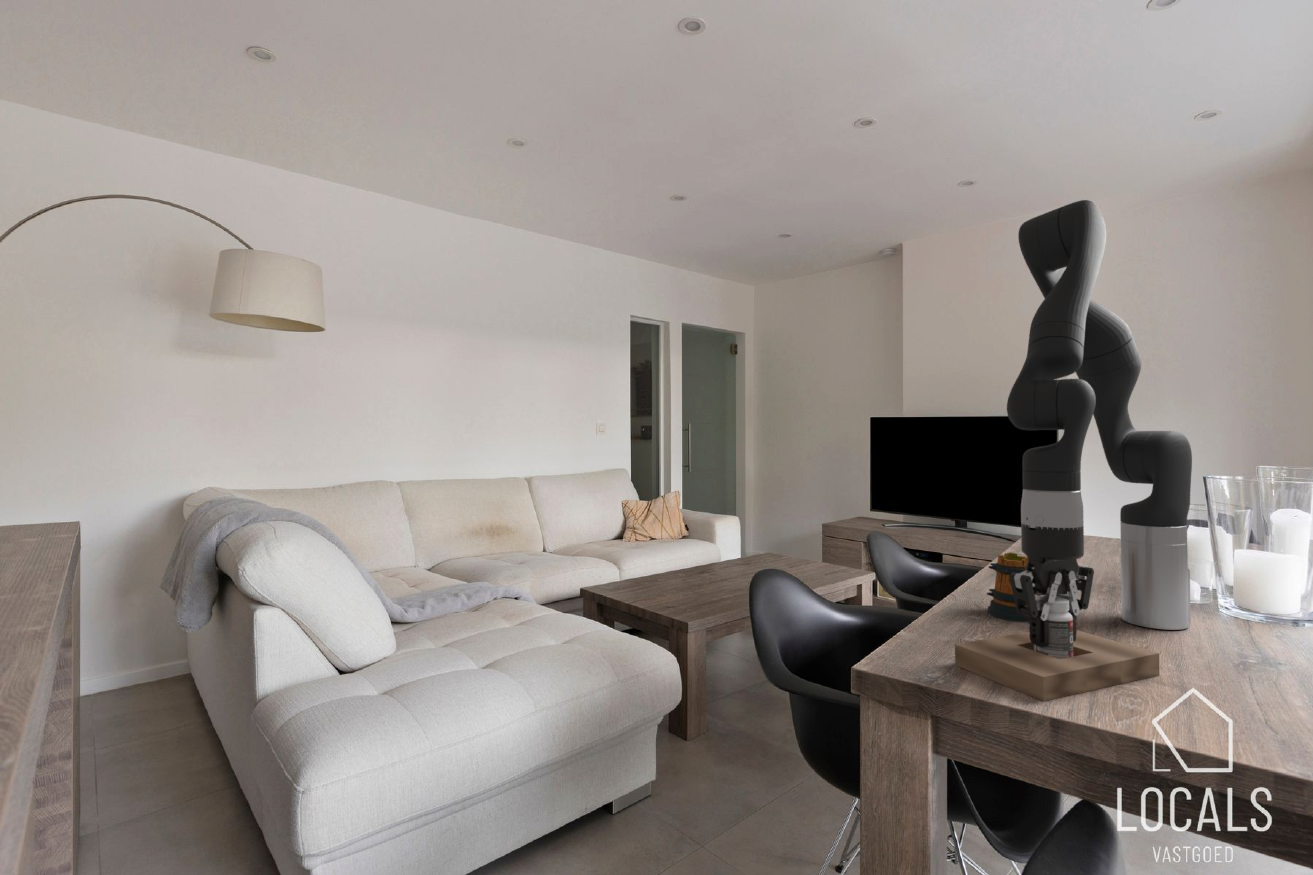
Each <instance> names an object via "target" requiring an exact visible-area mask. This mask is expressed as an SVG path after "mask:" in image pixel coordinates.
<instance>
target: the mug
mask: <svg viewBox="0 0 1313 875" xmlns="http://www.w3.org/2000/svg"><path fill="white" fill-rule="evenodd" d="M1027 562H1028V557H1027V556H1022V555H1018V553H1016V552H1011V551H1010V552H1005V553H1004V555H1003V554H999V555H997V562H996V563H995V562H994V563H992V562H991V563H990V565H988V569H991V570H993V571H994V572H995V581H994V582H995V583H994V588H989V589H988V591H989V592H986V595H987V596H990V597H992V598H993V599H991V600H990V602H989V604H990V605H988V606H987V613H988V615H990V616H992V617H995V618H999V619H1002V620H1006V621H1011V622H1021V623H1029V617H1028V616H1026V615H1023V614H1020V613H1017V610H1016V606H1015V601H1014V596H1013V591H1012V587H1011V582H1010V574H1011V573H1018V574H1019V573H1021V572H1023V571H1025V569H1026V565H1027ZM1037 595H1038V596H1041V595H1044V594H1039V593H1038V592H1037ZM1024 604H1025V606H1027V603H1026V601H1024ZM1037 609H1038V608H1037Z"/></svg>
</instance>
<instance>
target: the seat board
mask: <svg viewBox="0 0 1313 875" xmlns="http://www.w3.org/2000/svg"><path fill="white" fill-rule="evenodd" d="M1076 630H1077V629H1076ZM954 662H955V663H954V666H957V667H959V668H962V669H964V670H966V671H970V673H971V672H972V673H974V674H976V675H979V676H981V677H983V678H986V679H989V680H991V681H993V682H996V683H999V684H1001V685H1003V686H1006V687H1008V688H1010V689H1013V690H1016V691H1018V692H1020V693H1022V694H1026V695H1027V696H1031V697H1033V698H1035V699H1038V700H1039V701H1042V702H1045V701H1049V700H1051V701H1052V700H1053V699H1054V700H1055V699H1060V698H1065V697H1068V696H1072V695H1073V696H1074V695H1078V694H1081V693H1082V694H1083V693H1086V692H1091V691H1094V690H1099V689H1100V690H1101V689H1103V688H1109V687H1114V686H1117V685H1122V684H1126V683H1131V682H1135V681H1139V680H1144V679H1149V678H1153V677H1158V676H1160V652H1156V651H1153V650H1149V649H1146V648H1141V647H1138V646H1135V645H1131V644H1128V643H1124V642H1120V641H1118V640H1113V639H1110V638H1107V637H1103V636H1099V635H1096V634H1092V633H1088V632H1085V631H1081V630H1077V634H1076V640H1075V641H1074V642H1073V657H1068V658H1063V659H1057V658H1054V657H1051V656H1048V655H1045V654H1042V653H1039V652H1036V651H1034V644H1032V643H1031V640H1030V633H1029V631H1025V632H1020V633H1015V634H1008V635H1002V636H997V637H991V638H985V639H977V640H973V641H966V642H960V643H956V644H954Z"/></svg>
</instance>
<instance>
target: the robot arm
mask: <svg viewBox="0 0 1313 875" xmlns="http://www.w3.org/2000/svg"><path fill="white" fill-rule="evenodd" d="M1017 236H1018V237H1017V238H1018V244H1019V247H1020V251H1021V255H1022V257H1023V260H1024V262H1025V264H1026V267H1027V268H1028V270H1029V273H1030V275H1031V276H1032V278H1033V279H1034V281H1035V283H1036V286H1038V289H1039V291H1040V292H1041V295H1042V296H1043V298H1044V300H1043V301H1042V302H1041V304H1040V305H1039V306H1038V307H1037V310H1036V312H1035V313H1034V316H1033V317H1032V320H1031V322H1030V323H1031V324H1030V327H1029V335H1028V346H1027V354H1026V358H1025V361H1024V362H1023V365H1022V367H1021V370H1020V372H1019V374H1018V376H1017V378H1016V379H1015V381H1014V383H1013V385H1012V387H1011V389H1010V392H1009V395H1008V397H1007V402H1006V412H1007V417H1008V419H1009V421H1010V422H1011V423H1012V425H1013V426H1014V427H1015V428H1017V429H1020V430H1024V431H1051V430H1052V431H1057V430H1058V431H1059V430H1060V431H1061V430H1062V431H1064V432H1063V435H1062V436H1061V438H1060V439H1059V440H1058V441H1057V442H1055V443H1052V444H1048V445H1042V446H1037V447H1033V448H1032V447H1031V448H1029V449H1027V450H1025V451H1024V453H1023V455H1022V465H1021V466H1022V495H1021V496H1022V497H1021V501H1020V502H1021V503H1020V522H1021V523H1020V524H1021V526H1020V527H1021V528H1020V531H1021V532H1020V533H1021V534H1020V535H1021V536H1020V537H1021V540H1020V541H1021V552H1022V553H1023V554H1024V555H1026V556H1025V557H1028V562H1027V565H1026V569H1025V571H1023V572H1021V573H1019V574H1018V573H1011V574H1010V582H1011V587H1012V591H1013V596H1014V601H1015V606H1016V610H1017V613H1020V614H1023V615H1026V616H1028V617H1029V622H1028V624H1029V630H1028V632H1029V633H1030V640H1031V643H1032V644H1034V645H1037V646H1040V647H1047V646H1048V644H1049V642H1048V621H1047V620H1046V619H1047V617H1048V613H1049V608H1050V606H1051V605H1053V604H1054V602H1055V598H1056V596H1058V597H1062V598H1066V599H1068V600H1069V611H1068V612H1069V613H1070V614H1071V615H1072V617H1073V642H1074V641H1075V640H1076V634H1077V616H1079V614H1080V613H1081V612H1080V611H1081V610H1087V609H1088V608H1089V604H1090V600H1091V599H1090V598H1091V593H1092V586H1093V581H1094V574H1095V571H1094V568H1092V567H1089V566H1088V567H1087V566H1083V565H1079V563H1078V561H1077V560H1078V559H1079V560H1080V559H1081V558H1082V557H1083V556H1084V555H1085V546H1084V545H1085V540H1084V539H1085V538H1084V537H1085V535H1084V534H1085V532H1084V502H1083V498H1082V490H1081V488H1082V487H1081V486H1082V485H1081V483H1082V480H1081V477H1082V474H1081V472H1082V471H1081V469H1082V466H1081V465H1082V454H1083V448H1084V444H1085V440H1086V438H1087V437H1086V436H1087V434H1088V430H1089V427H1090V424H1091V421H1092V420H1093V419H1092V418H1094V421H1095V424H1096V428H1097V431H1098V434H1099V438H1100V441H1101V445H1102V448H1103V452H1104V456H1105V459H1106V461H1107V465H1108V467H1109V469H1110V471H1111V472H1112V474H1113V475H1114V477H1115V478H1117V479H1118V480H1119V481H1121V482H1125V483H1129V484H1131V483H1132V484H1146V485H1147V484H1148V485H1152V489H1151V493H1150V495H1149V496H1147V497H1146V498H1144V499H1142V500H1139V501H1136V502H1132V503H1127V504H1125V505H1123V506H1122V507H1121V508H1120V513H1119V514H1120V516H1119V517H1120V524H1119V525H1120V573H1121V574H1120V578H1121V579H1120V580H1121V584H1120V585H1121V588H1120V590H1121V597H1120V598H1121V620H1123V621H1125V622H1126V623H1129V624H1130V625H1131V624H1132V625H1135V626H1140V627H1143V628H1148V629H1156V630H1170V631H1171V630H1173V631H1174V630H1175V631H1176V630H1177V631H1178V630H1186V629H1188V628H1189V625H1190V624H1191V622H1192V621H1191V571H1190V569H1189V564H1188V562H1189V561H1188V557H1189V556H1188V555H1189V554H1188V516H1189V510H1190V505H1191V488H1192V487H1191V486H1192V484H1191V482H1192V471H1193V455H1192V454H1193V453H1192V448H1191V444H1190V442H1189V440H1188V438H1187V437H1186V435H1185V434H1183V433H1182V432H1180V431H1175V430H1137V429H1136V428H1135V427H1134V425H1133V424H1132V420H1131V418H1130V413H1129V401H1130V400H1131V396H1132V393H1133V391H1134V389H1135V387H1136V384H1137V382H1138V380H1139V376H1140V374H1141V370H1142V357H1141V354H1140V352H1139V349H1138V346H1137V344H1136V341H1135V338H1134V336H1133V333H1132V331H1131V329H1130V327H1129V325H1128V324H1127V323H1126V321H1125V320H1123V319H1122V318H1121V317H1120V316H1119V315H1117V314H1115V313H1114V312H1113V311H1111V310H1109V309H1108V308H1107V307H1105V306H1103V305H1102V304H1100V303H1098V302H1096V301H1094V300H1093V299H1092V297H1093V296H1092V295H1093V293H1094V290H1095V289H1094V288H1095V286H1096V283H1097V279H1098V276H1099V273H1100V269H1101V268H1100V267H1101V265H1102V261H1103V258H1104V255H1105V249H1106V244H1107V226H1106V221H1105V218H1104V215H1103V214H1102V212H1101V209H1100V208H1099V206H1097V204H1096V203H1094V202H1093V201H1092V200H1089V199H1081V200H1078V201H1077V200H1076V201H1073V202H1071V203H1068V204H1066V205H1063V206H1061V207H1058V208H1055V209H1052V210H1050V211H1047V212H1045V213H1043V214H1040V215H1037V216H1035V217H1032V218H1030V219H1028V220H1026V221H1024V222H1023V223H1022V224H1021V225H1020V227H1019V229H1018V234H1017ZM1063 268H1065V269H1063ZM1072 374H1076V376H1077V378H1065V377H1068V376H1070V375H1072ZM1060 378H1061V379H1060ZM1079 591H1080V594H1079ZM1037 592H1038V593H1039V594H1044V595H1046V596H1044V597H1042V596H1038V595H1037ZM1024 601H1026V603H1027V606H1025V604H1024ZM1038 602H1041V606H1040V610H1038V609H1037V603H1038Z"/></svg>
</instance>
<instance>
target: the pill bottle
mask: <svg viewBox="0 0 1313 875" xmlns="http://www.w3.org/2000/svg"><path fill="white" fill-rule="evenodd" d="M1041 596H1042V597H1044V596H1046V595H1041ZM1040 606H1041V602H1038V603H1037V608H1038V610H1040ZM1068 611H1069V600H1068V599H1066V598H1062V597H1058V596H1056V598H1055V602H1054V604H1053V605H1051V606H1050V608H1049V613H1048V617H1047V619H1046V620H1047V621H1048V642H1049V644H1048V646H1047V647H1040V646H1037V645H1034V651H1036V652H1039V653H1042V654H1045V655H1048V656H1051V657H1054V658H1057V659H1063V658H1068V657H1073V617H1072V615H1071V614H1070V613H1069V612H1068Z"/></svg>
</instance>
